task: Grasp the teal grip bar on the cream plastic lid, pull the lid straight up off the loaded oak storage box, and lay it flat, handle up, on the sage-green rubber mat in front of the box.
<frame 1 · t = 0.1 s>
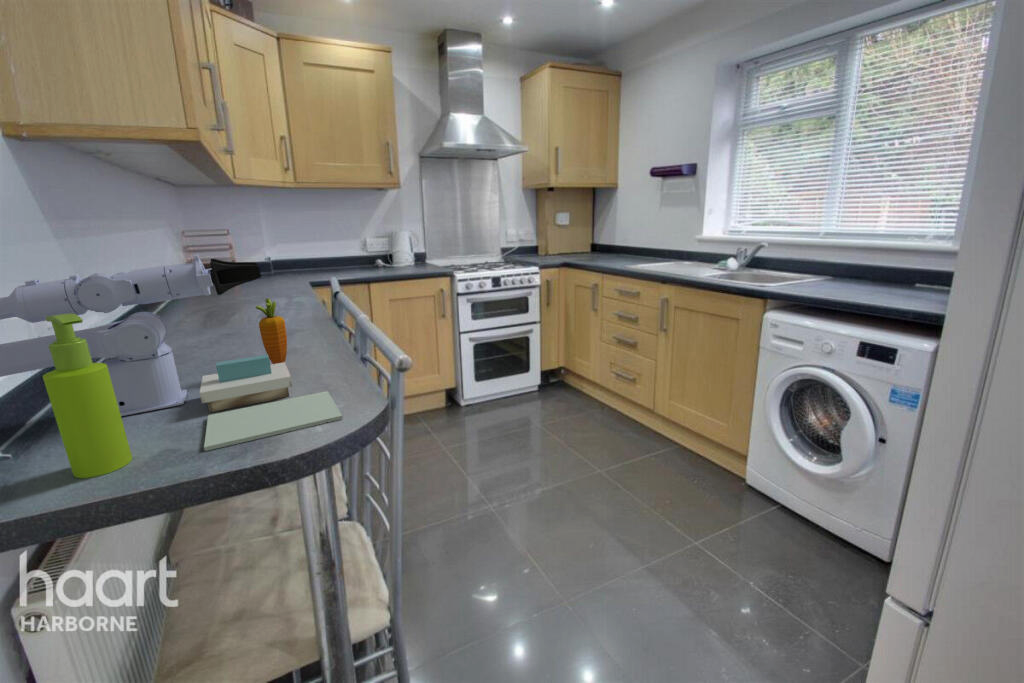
hand: (259, 269, 86), 22 cm above the worktop, tool horizontal, fingers open, 7 cm apart
mat: (274, 418, 73), on the worktop
lid: (246, 380, 83), point 3 cm above the worktop, touching storage box
carrot: (280, 371, 98), on the worktop
soap dispenser: (105, 468, 60), on the worktop
storage box: (250, 396, 84), on the worktop
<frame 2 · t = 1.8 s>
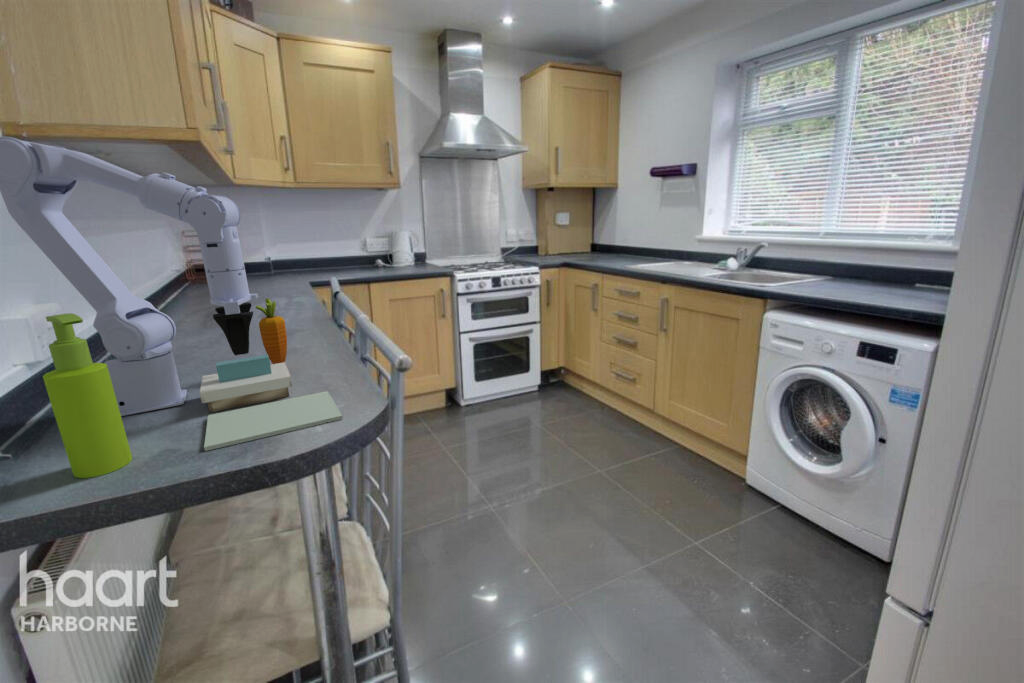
hand: (241, 349, 81), 9 cm above the worktop, tool pointing down, fingers open, 7 cm apart
nothing on the worktop moved.
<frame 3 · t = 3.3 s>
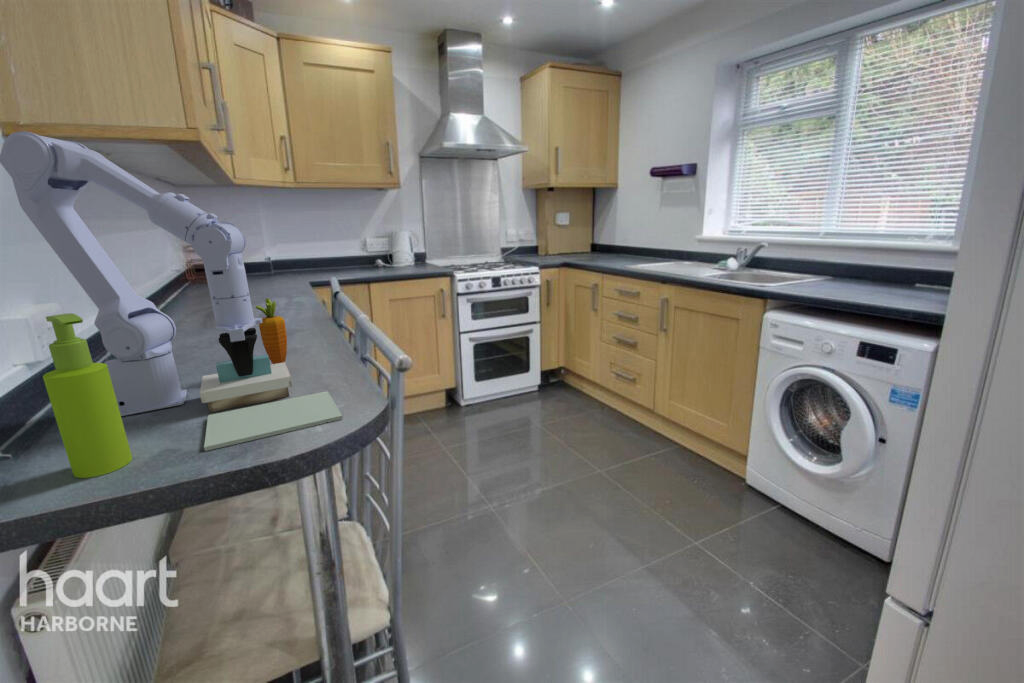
hand: (245, 372, 83), 4 cm above the worktop, tool pointing down, fingers closed on lid, 2 cm apart
lid: (246, 380, 83), point 3 cm above the worktop, touching gripper, storage box
everything else where it was.
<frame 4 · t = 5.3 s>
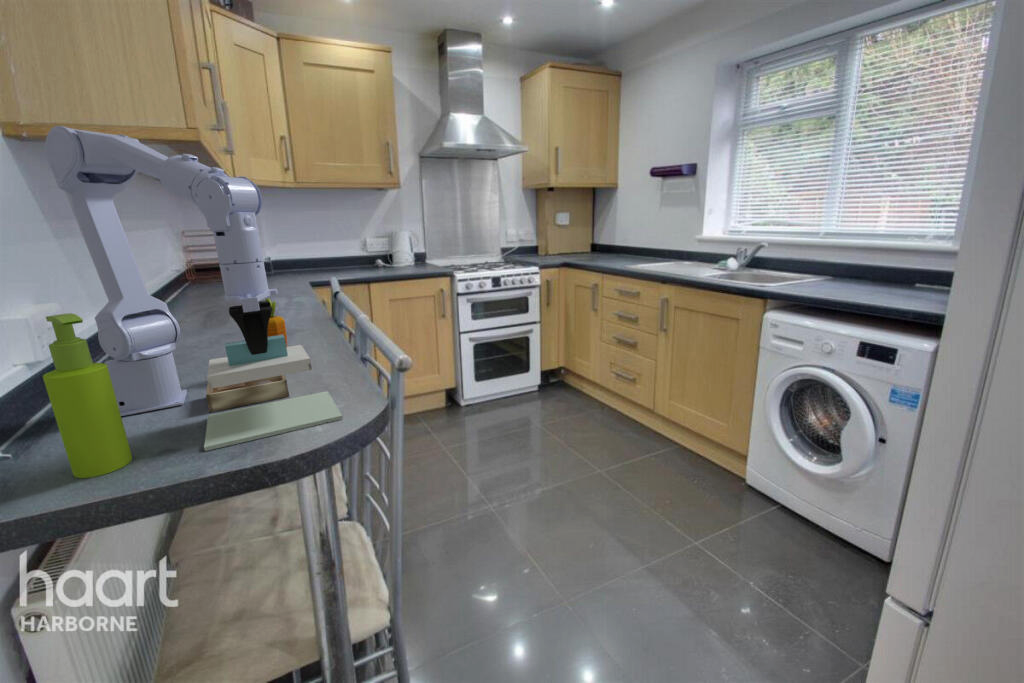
hand: (258, 351, 72), 11 cm above the worktop, tool pointing down, fingers closed on lid, 2 cm apart
lid: (259, 364, 73), point 8 cm above the worktop, touching gripper
everything else where it was.
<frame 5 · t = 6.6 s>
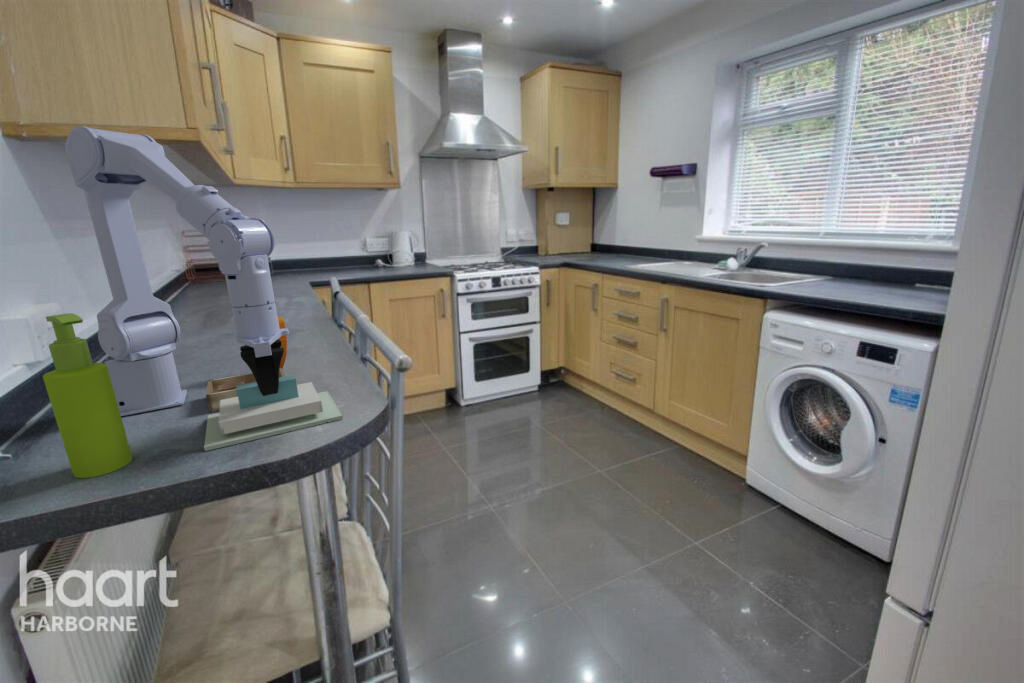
hand: (269, 391, 72), 5 cm above the worktop, tool pointing down, fingers closed on lid, 2 cm apart
lid: (270, 405, 73), point 2 cm above the worktop, touching gripper
everything else where it was.
when the fingers open (4 cm above the worktop, at t = 7.4 s): lid stays where it is, resting on mat.
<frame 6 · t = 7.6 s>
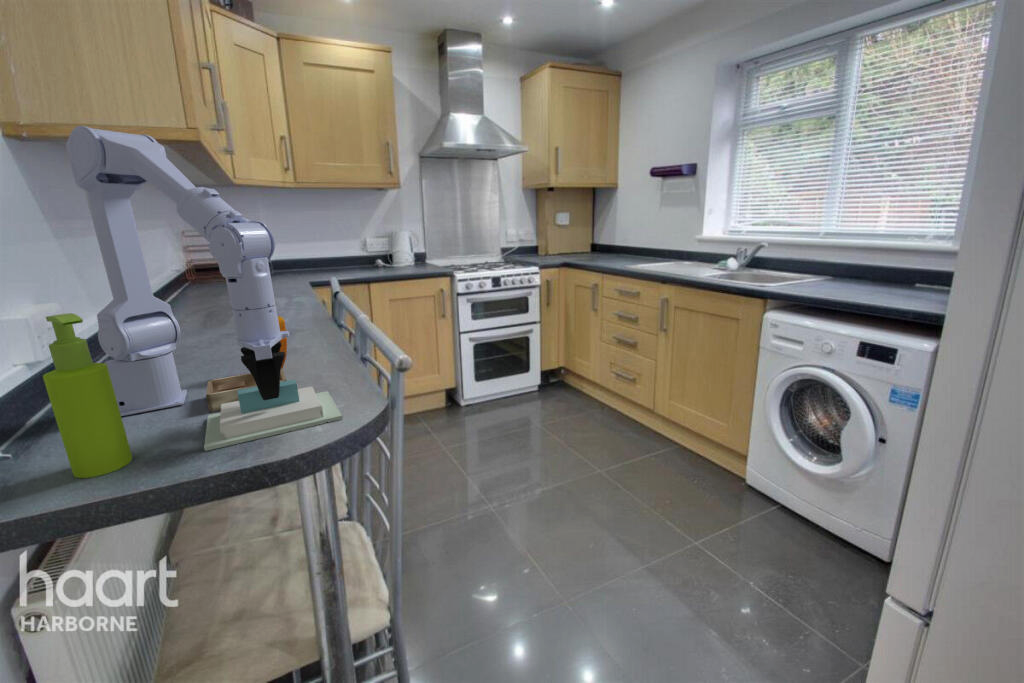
hand: (270, 393, 72), 4 cm above the worktop, tool pointing down, fingers open, 4 cm apart
lid: (271, 409, 73), point 2 cm above the worktop, touching mat
everything else where it was.
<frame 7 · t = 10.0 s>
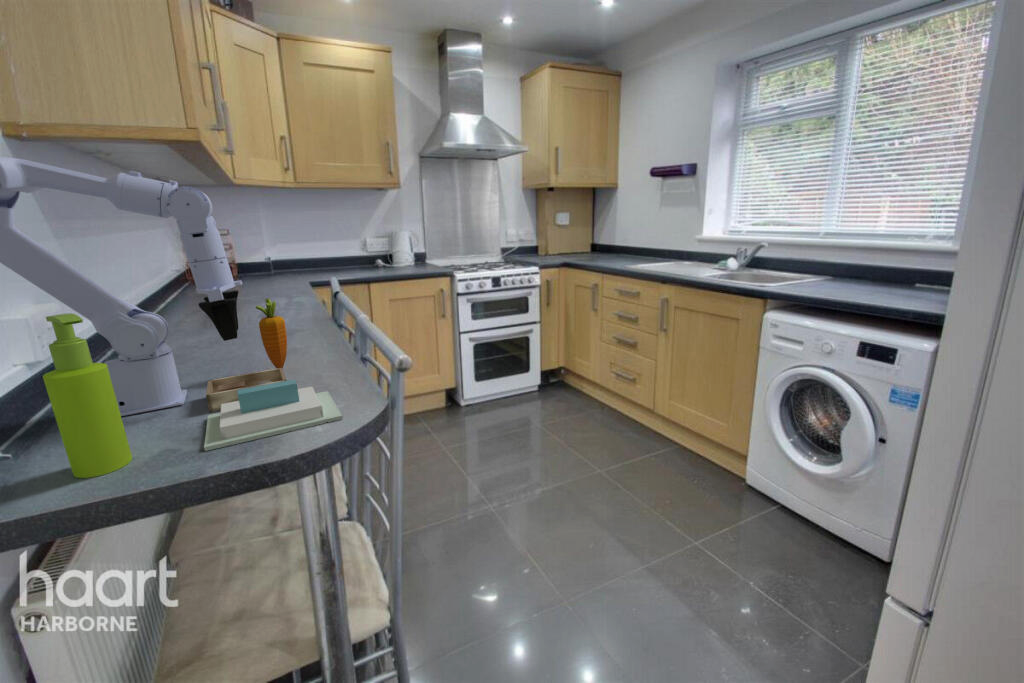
hand: (231, 335, 85), 10 cm above the worktop, tool pointing down, fingers open, 7 cm apart
nothing on the worktop moved.
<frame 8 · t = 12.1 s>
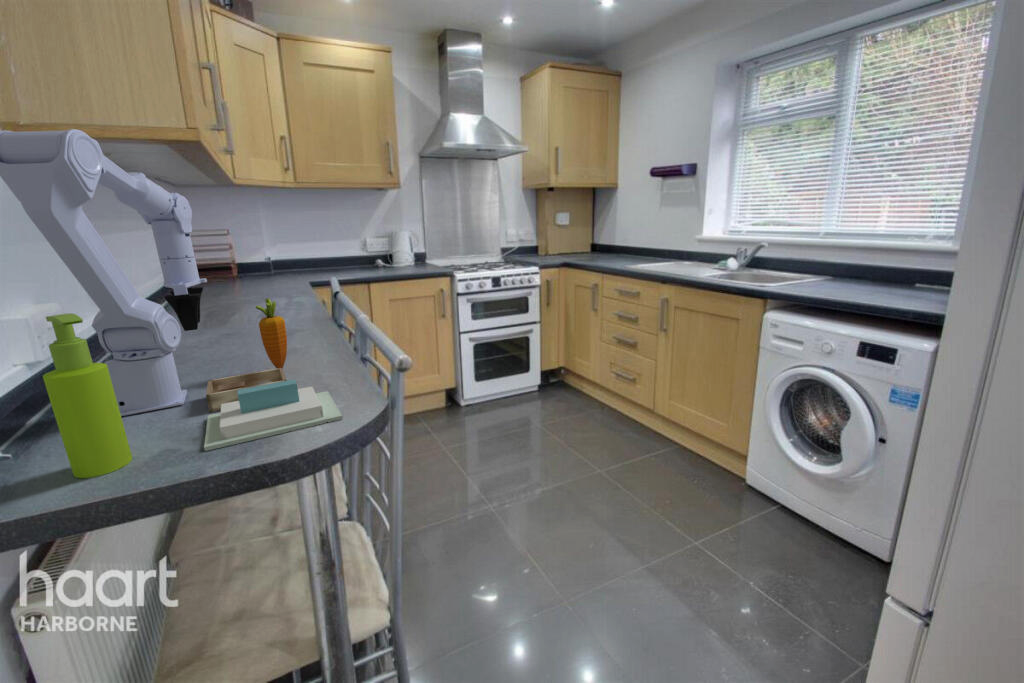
hand: (192, 326, 94), 10 cm above the worktop, tool pointing down, fingers open, 7 cm apart
nothing on the worktop moved.
at the end: lid inside the target area on the mat (0.2 cm from its centre), point 1.6 cm above the mat's base; lid tilted 0°; the gripper is holding nothing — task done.
